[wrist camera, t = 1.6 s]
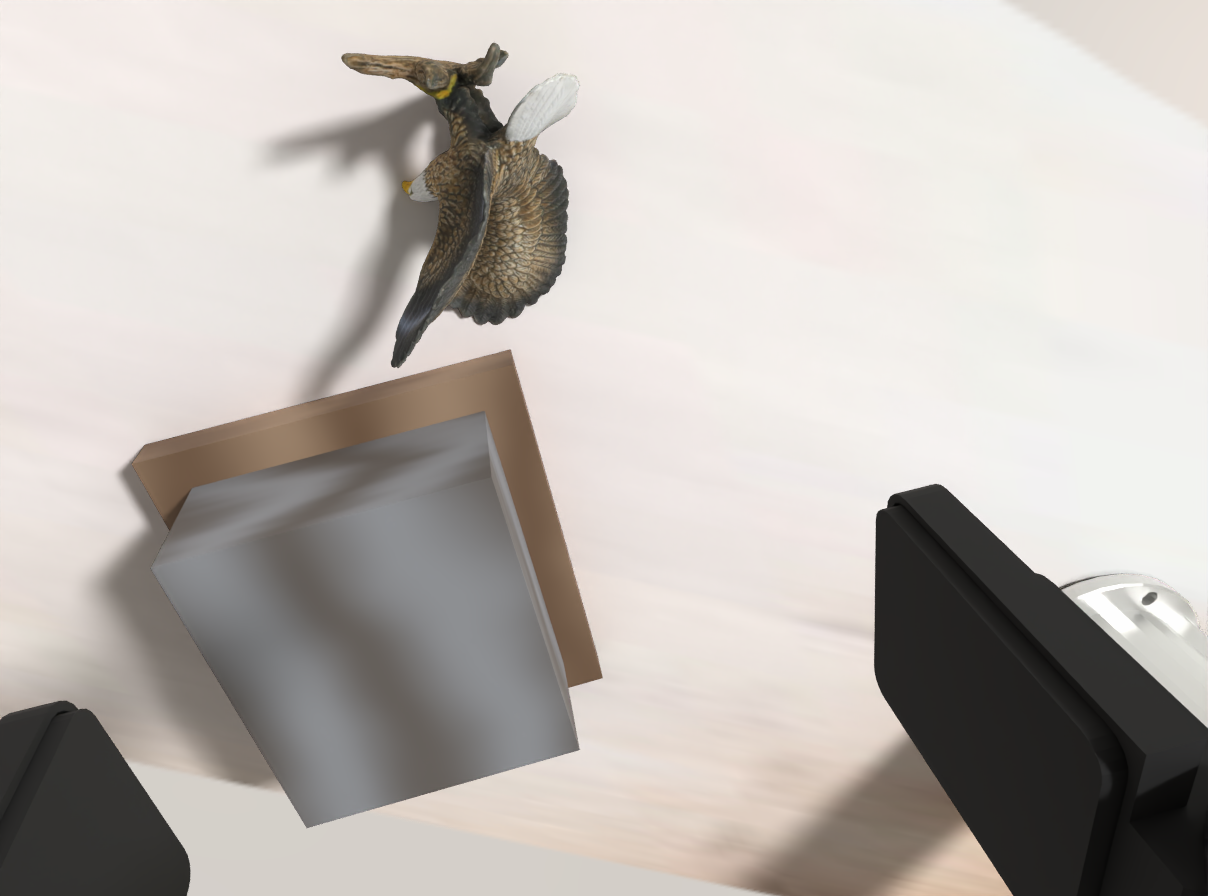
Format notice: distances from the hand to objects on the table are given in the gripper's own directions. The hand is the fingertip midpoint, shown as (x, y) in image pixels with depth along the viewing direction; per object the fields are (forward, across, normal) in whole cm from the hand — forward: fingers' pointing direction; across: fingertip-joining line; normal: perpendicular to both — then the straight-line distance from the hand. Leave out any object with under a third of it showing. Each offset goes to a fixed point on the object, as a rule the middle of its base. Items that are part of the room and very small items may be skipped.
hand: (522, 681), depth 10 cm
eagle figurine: (+23, -1, -1) cm, 23 cm away
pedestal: (+22, +6, +13) cm, 26 cm away
